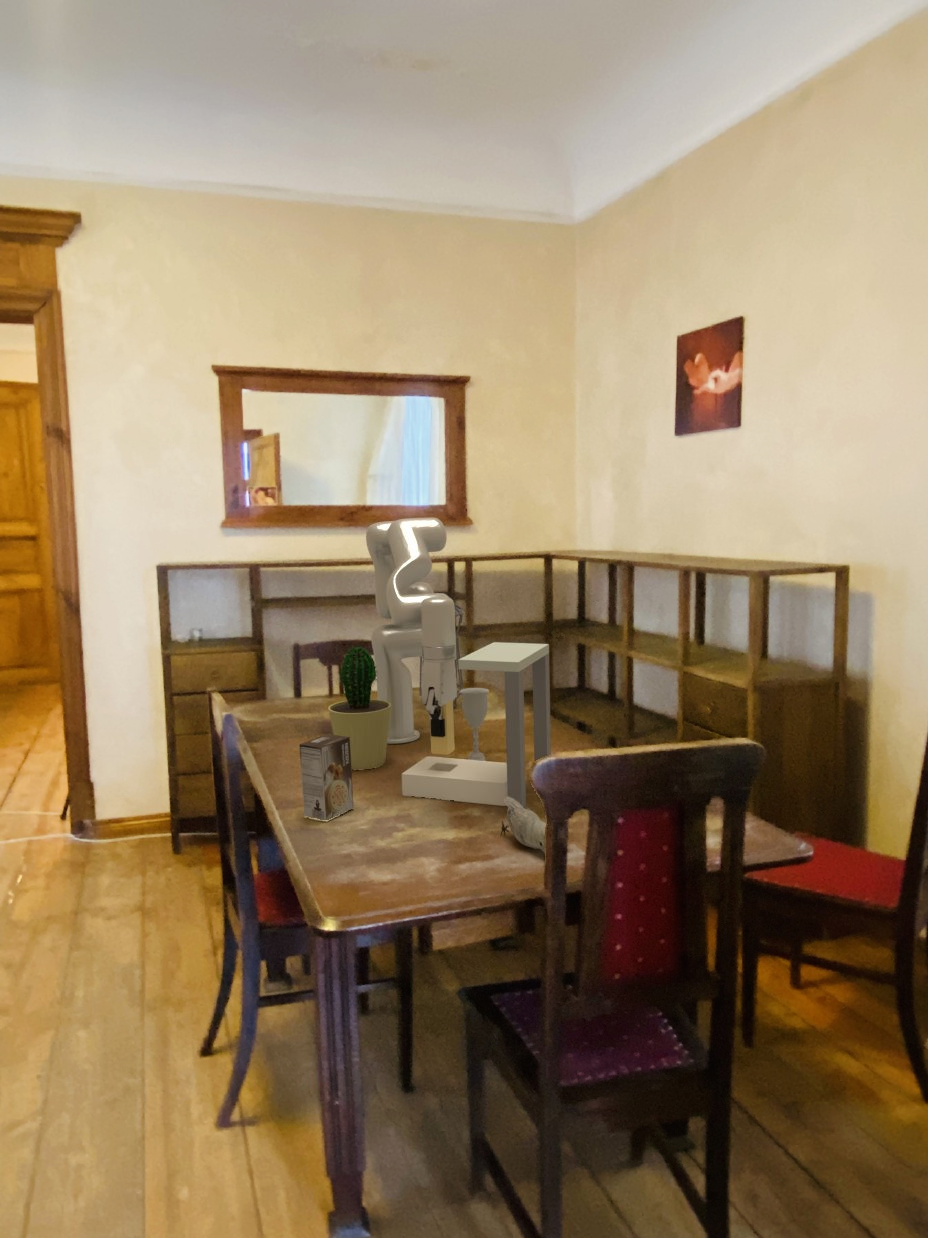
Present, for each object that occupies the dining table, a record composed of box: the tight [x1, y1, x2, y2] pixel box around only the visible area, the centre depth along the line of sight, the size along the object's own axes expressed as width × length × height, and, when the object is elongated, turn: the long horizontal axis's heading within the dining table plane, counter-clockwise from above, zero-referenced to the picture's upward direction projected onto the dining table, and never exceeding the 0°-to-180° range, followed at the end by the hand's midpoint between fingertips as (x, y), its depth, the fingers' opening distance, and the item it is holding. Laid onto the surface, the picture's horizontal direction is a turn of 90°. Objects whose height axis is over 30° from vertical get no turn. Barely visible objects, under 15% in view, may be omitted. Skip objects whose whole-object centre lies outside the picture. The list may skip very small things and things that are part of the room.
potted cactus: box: [327, 646, 391, 770], centre depth 225 cm, size 15×15×30 cm
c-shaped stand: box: [458, 641, 552, 808], centre depth 199 cm, size 13×22×32 cm, turn 159°
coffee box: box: [299, 733, 355, 820], centre depth 191 cm, size 9×6×16 cm
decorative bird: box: [500, 797, 547, 854], centre depth 172 cm, size 5×16×8 cm, turn 27°
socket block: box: [401, 755, 508, 807], centre depth 204 cm, size 24×14×5 cm, turn 69°
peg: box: [429, 700, 456, 756], centre depth 204 cm, size 4×4×12 cm
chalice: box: [459, 687, 490, 761], centre depth 225 cm, size 7×7×18 cm
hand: (442, 733), depth 204 cm, fingers closed on peg, 4 cm apart
